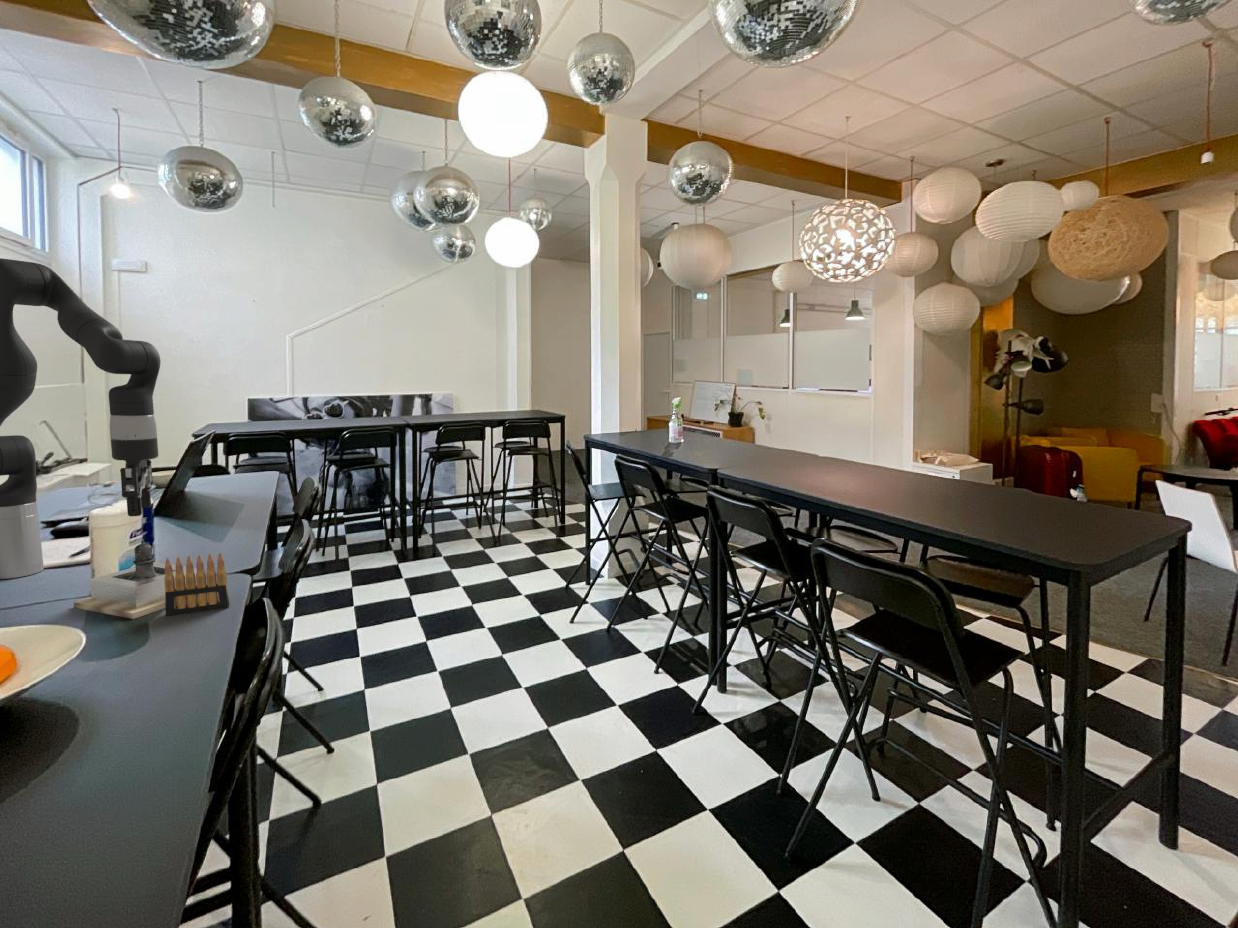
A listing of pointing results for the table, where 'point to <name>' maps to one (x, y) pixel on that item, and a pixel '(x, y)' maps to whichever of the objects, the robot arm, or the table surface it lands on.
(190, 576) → the ammunition clip
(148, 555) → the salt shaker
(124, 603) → the square socket
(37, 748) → the table surface
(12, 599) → the table surface
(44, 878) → the table surface
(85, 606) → the base board
